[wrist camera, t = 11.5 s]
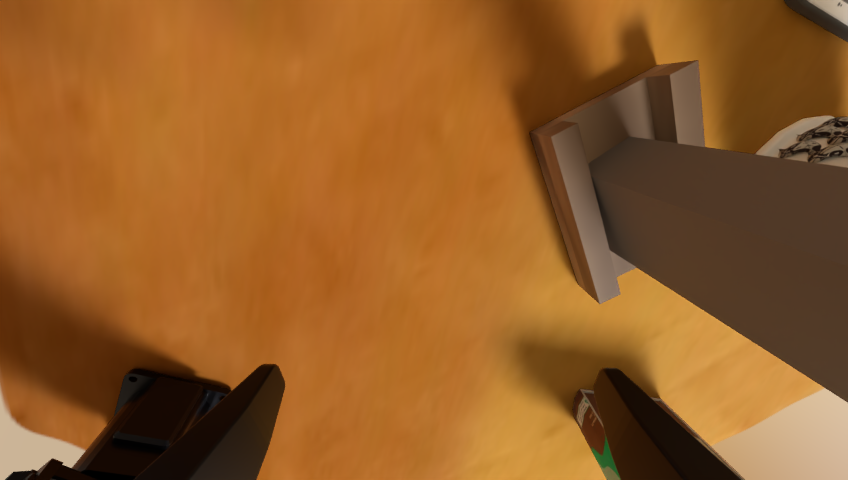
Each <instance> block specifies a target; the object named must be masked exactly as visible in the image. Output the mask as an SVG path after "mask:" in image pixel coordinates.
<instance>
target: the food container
mask: <svg viewBox="0 0 848 480" xmlns="http://www.w3.org/2000/svg"><path fill="white" fill-rule="evenodd" d="M651 398H652V397H651ZM652 399H653V400H654V401H655V402H656V403H657V404H658V405H660V406H661V407H662V408H663V409H664V410H665V411H666V412H667V413H668V414H670V415H671V416H672V417H673V418H674V419H675V420H676V421H677V422H678V423H679V424H681V425H682V426H683V427H684V428H685V429H686V430H687V431H688V432H689V433H691V434H692V435H693V436H694V437H695V438H696V439H697V440H698V441H699V442H701V443H702V444H703V445H704V446H705V447H706V448H707V449H708V450H709V451H710V452H712V453H713V454H714V455H715V456H716V457H717V458H718V459H719V460H720V461H722V462H723V463H724V464H725V465H726V466H727V467H728V468H729V469H730V470H732V471H733V472H734V473H735V474H736V475H737V476H738V477H739V478H740V479H741V480H745V479H744V478H743V477H742V476H741V475H740V474H739V473H738V472H737V471H736V470H734V468H732V467H731V466H730V465H729V464H728V463H727V462H726V461H725V460H724V459H723V458H722V457H721V456H720V455H719V454H718V453H717V452H716V451H715V450H714V449H713V448H712V447H711V446H710V445H709V444H707V443H706V442H705V441H704V440H703V439H702V438H701V437H700V436H699V435H698V434H697V433H696V432H695V431H694V430H693V429H692V428H691V427H690V426H689V425H688V424H687V423H686V422H685V421H684V420H682V419H681V418H680V417H679V416H678V415H677V414H676V413H675V412H674V411H673V410H672V409H671V408H670V407H669V406H668V405H667V404H666V403H665V402H664V401H663V400H662V399H661V398H652ZM573 413H574V416H575V420H576V422H577V424H578V426H579V427H580V429H581V431H582V433H583V435H584V437H585V439H586V441H587V443H588V445H589V446H590V448H591V450H592V452H593V454H594V456H595V458H596V460H597V462H598V464H599V466H600V467H601V469H602V471H603V473H604V475H605V477H606V479H607V480H621V479H620V476H619V474H618V471H617V469H616V466H615V463H614V461H613V458H612V455H611V452H610V449H609V445H608V442H607V438H606V435H605V431H604V428H603V424H602V421H601V417H600V414H599V410H598V406H597V403H596V399H595V396H594V391H593V390H585V389H579V391H578V393H577V395H576V397H575V400H574V406H573Z"/></svg>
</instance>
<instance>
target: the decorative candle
mask: <svg viewBox="0 0 848 480" xmlns="http://www.w3.org/2000/svg"><path fill="white" fill-rule="evenodd" d="M756 155H763V156H770V157H777V158H784V159H791V160H798V161H805V162H812V163H819V164H826V165H833V166H840V167H847V168H848V117H836V118H835V117H832V116H817V117H810V118H803V119H801V120H799V121H797V122H795V123H793V124H791V125H790V126H788V127H786V128H784V129H782V130H780V131H778V132H777V133H776V134H775V135H774V136H773V137H772V138H771V139H770V140H769V141H768V142H767V143H766V144H764V145H763V146H762V147H761V148H760V149H759V150H758V151H757V152H756Z"/></svg>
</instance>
